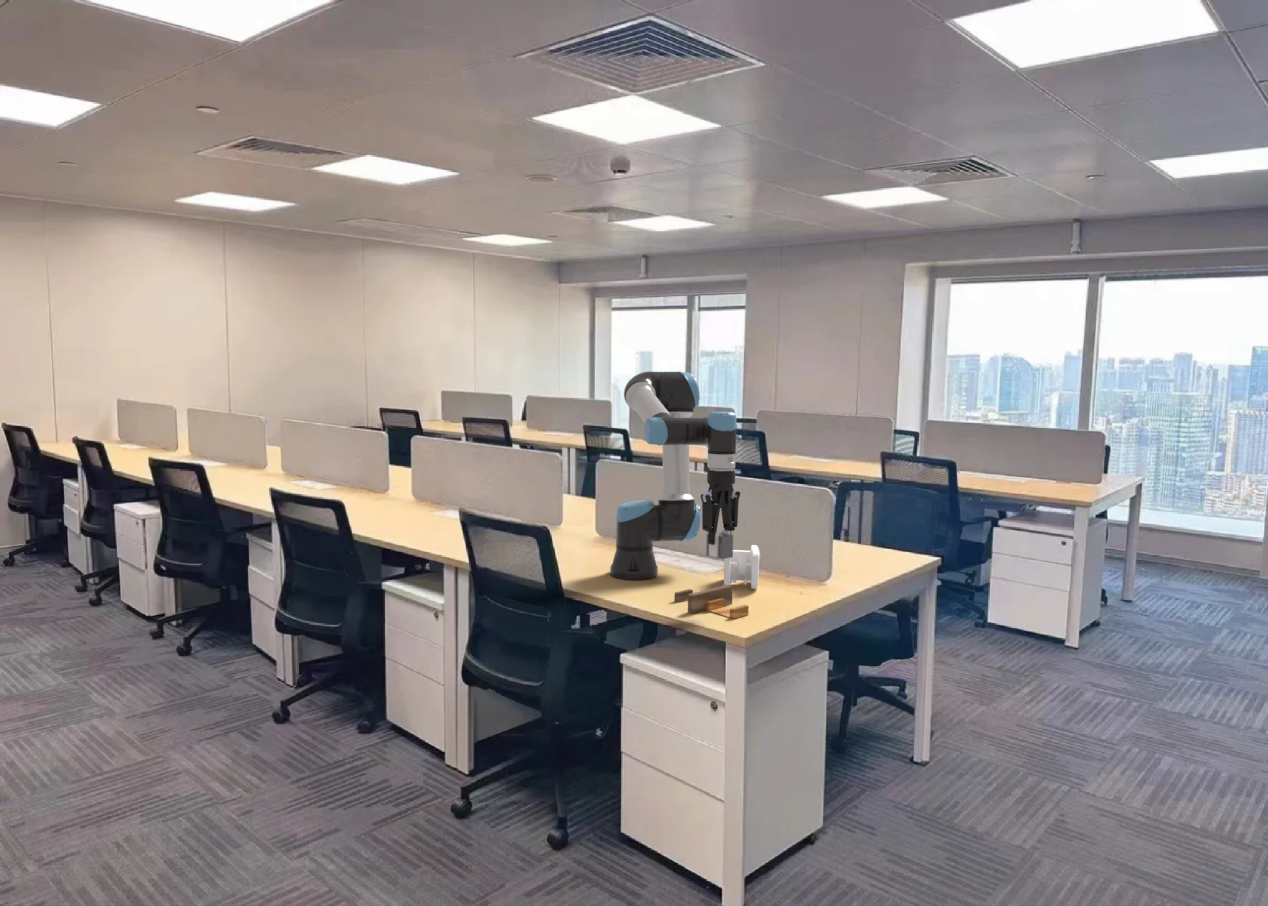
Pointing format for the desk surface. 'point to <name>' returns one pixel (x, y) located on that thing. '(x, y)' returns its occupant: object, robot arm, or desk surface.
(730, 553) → the block
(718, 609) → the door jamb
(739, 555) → the cable organizer
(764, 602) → the desk surface
